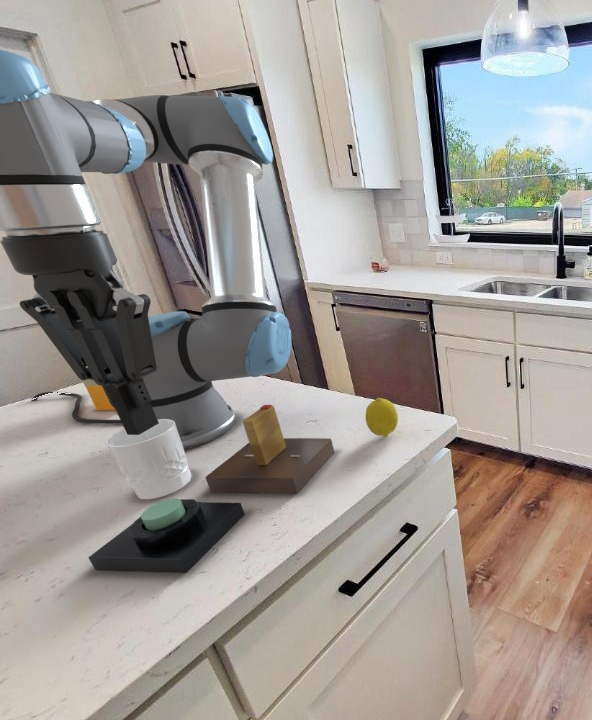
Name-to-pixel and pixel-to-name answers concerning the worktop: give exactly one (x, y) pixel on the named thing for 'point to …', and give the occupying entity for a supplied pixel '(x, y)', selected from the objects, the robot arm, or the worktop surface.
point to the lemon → (381, 417)
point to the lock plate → (272, 468)
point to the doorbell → (169, 540)
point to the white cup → (152, 459)
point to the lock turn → (264, 434)
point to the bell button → (163, 514)
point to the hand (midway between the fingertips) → (143, 428)
